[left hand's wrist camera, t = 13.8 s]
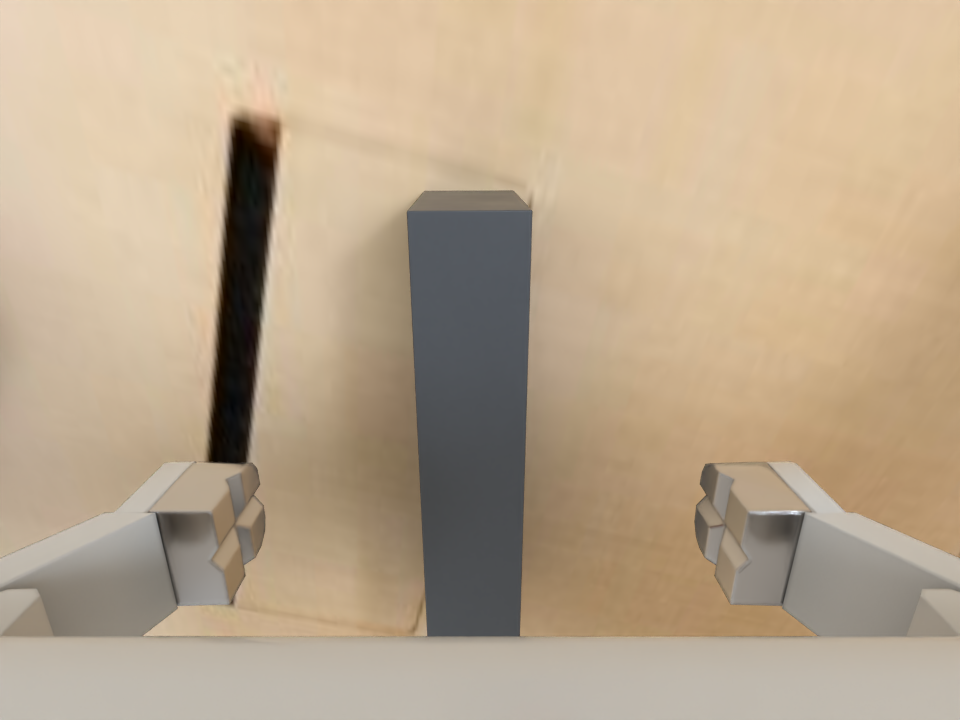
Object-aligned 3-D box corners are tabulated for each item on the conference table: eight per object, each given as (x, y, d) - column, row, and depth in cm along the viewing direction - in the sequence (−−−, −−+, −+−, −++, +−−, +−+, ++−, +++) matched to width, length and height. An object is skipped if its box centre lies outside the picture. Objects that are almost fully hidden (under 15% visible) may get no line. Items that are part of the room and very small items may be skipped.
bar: (423, 191, 30) (406, 210, 21) (514, 190, 30) (532, 210, 22) (438, 588, 40) (430, 710, 31) (506, 586, 40) (517, 708, 31)
